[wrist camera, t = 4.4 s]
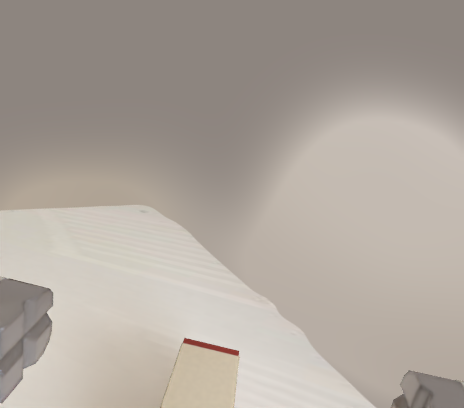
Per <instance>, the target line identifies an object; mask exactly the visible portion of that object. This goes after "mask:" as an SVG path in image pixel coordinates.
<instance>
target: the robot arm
mask: <svg viewBox="0 0 464 408" xmlns="http://www.w3.org/2000/svg"><path fill="white" fill-rule="evenodd" d="M52 306H53V292H52V291H51V290H50V289H49V288H45V287H41V286H37V285H33V284H29V283H25V282H21V281H17V280H13V279H7V278H4V277H0V403H3V402H4V400H5V399H6V398H7V397H8V396H9V394H10V393H11V392H12V391H13V390H14V388H15V387H16V386H17V385H18V384H19V383H20V381H21V380H22V379H23V369H24V368H27V367H29V366H31V365H33V364H35V363H36V362H37V361H38V359H39V358H40V357H41V356H42V354H43V353H44V351H45V349H46V347H47V345H48V342H49V339H50V335H51V331H52V321H51V319H50V318H49V316H48V314H47V313H46V312H47V311H48V310H49V309H50V308H51V307H52ZM400 385H401V388H402V390H403V393H404V394H402V395H401V396H399V397H398V398H396V399H394V400H393V403H392V405H391V408H464V381H459V380H450V379H446V378H441V377H437V376H432V375H428V374H423V373H418V372H414V371H408V372H407V373H406V374H405V375H404V377H403V379H402V381H401V384H400Z"/></svg>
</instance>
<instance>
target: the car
mask: <svg viewBox="0 0 464 408" xmlns="http://www.w3.org/2000/svg"><path fill="white" fill-rule="evenodd" d="M238 366H239V351H237V350H233V349H228V348H224V347H220V346H216V345H212V344H207V343H203V342H199V341H195V340H191V339H186V338H185V339H184V341H183V343H182V345H181V348H180V351H179V354H178V357H177V360H176V362H175V365H174V368H173V371H172V374H171V377H170V380H169V383H168V386H167V389H166V392H165V395H164V398H163V401H162V404H161V407H160V408H234V401H235V392H236V384H237V375H238Z"/></svg>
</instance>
